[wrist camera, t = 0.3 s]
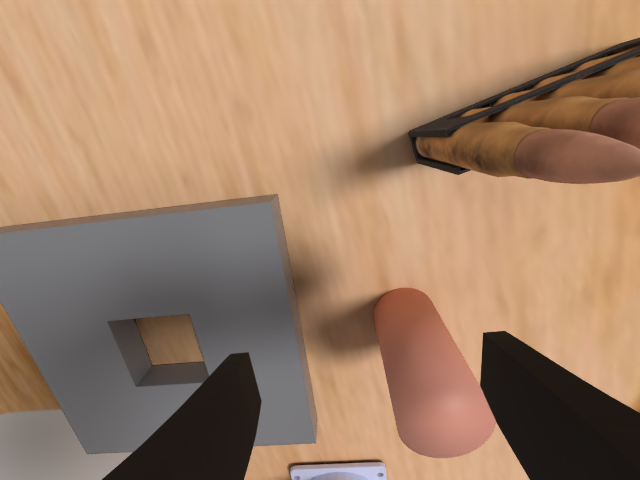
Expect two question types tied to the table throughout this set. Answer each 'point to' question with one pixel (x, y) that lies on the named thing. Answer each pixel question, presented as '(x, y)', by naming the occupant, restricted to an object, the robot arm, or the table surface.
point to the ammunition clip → (548, 125)
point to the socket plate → (158, 314)
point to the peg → (429, 379)
